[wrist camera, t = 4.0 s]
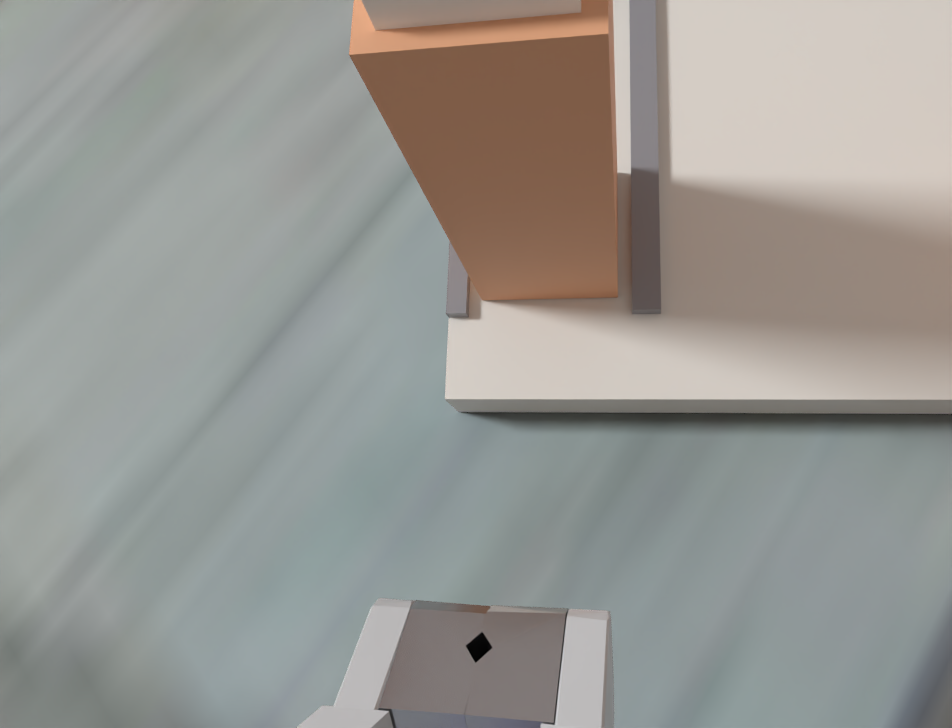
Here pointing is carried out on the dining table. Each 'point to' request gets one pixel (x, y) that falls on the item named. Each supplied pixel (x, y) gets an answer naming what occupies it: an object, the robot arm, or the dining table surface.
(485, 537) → the dining table surface
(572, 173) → the tan tall bar
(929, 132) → the white base plate
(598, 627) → the robot arm
